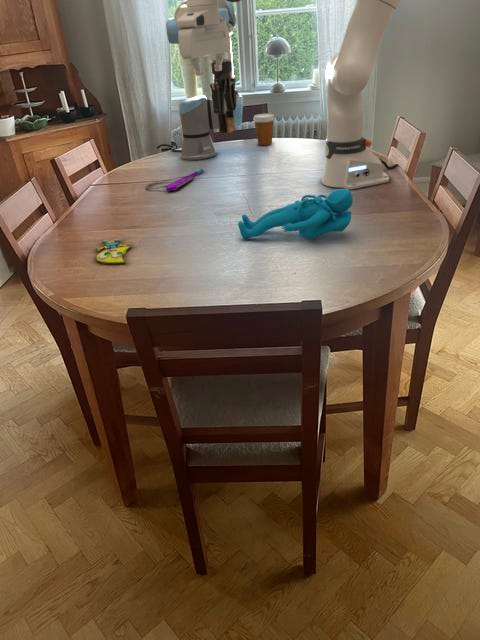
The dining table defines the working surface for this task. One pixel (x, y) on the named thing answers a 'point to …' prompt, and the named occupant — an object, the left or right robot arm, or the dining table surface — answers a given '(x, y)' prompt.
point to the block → (229, 125)
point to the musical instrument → (178, 181)
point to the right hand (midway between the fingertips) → (209, 73)
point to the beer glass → (264, 128)
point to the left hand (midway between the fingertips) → (227, 130)
